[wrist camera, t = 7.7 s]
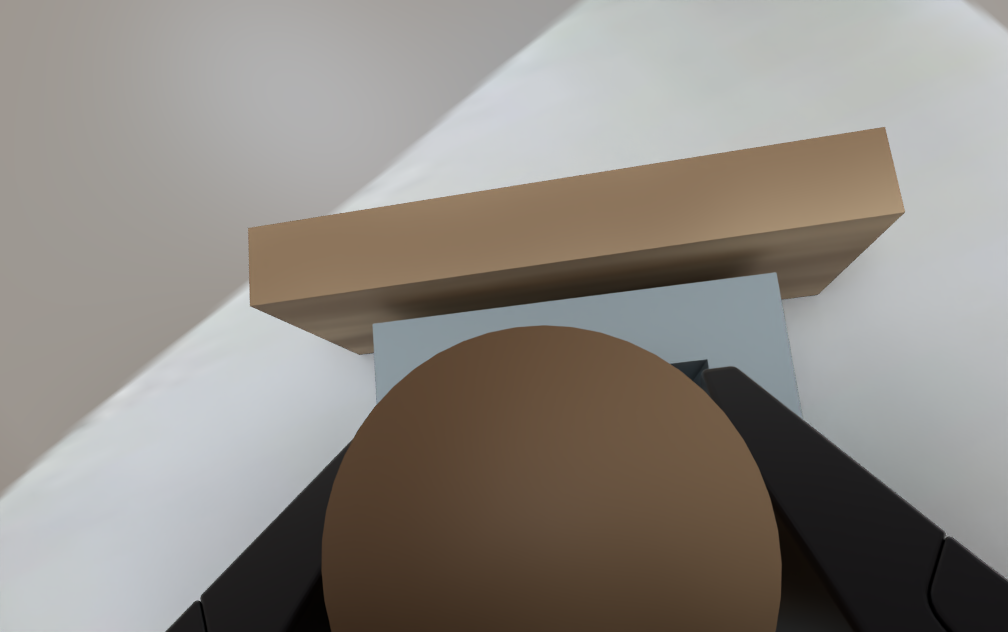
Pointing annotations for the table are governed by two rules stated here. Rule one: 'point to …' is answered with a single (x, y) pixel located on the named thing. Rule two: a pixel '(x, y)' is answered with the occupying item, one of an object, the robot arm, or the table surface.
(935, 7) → the table surface
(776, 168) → the backstop board
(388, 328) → the socket block
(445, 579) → the dowel
